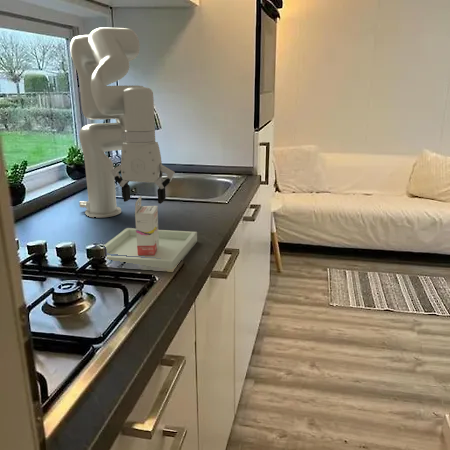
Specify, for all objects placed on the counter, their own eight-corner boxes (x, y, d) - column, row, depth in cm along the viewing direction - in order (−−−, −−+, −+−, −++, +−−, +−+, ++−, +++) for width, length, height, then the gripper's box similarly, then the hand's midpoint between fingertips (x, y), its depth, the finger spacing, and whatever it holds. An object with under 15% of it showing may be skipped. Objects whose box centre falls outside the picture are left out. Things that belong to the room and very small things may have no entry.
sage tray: (91, 266, 123) (89, 255, 123) (127, 237, 146) (126, 228, 145) (172, 272, 119) (172, 261, 118) (197, 241, 142) (196, 231, 141)
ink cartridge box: (155, 255, 128) (152, 202, 124) (137, 255, 128) (133, 202, 124) (160, 245, 137) (157, 194, 132) (142, 245, 137) (139, 194, 132)
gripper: (102, 138, 121) (108, 203, 127) (168, 140, 118) (170, 206, 123) (115, 134, 128) (119, 196, 134) (177, 136, 125) (179, 199, 130)
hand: (144, 201), depth 129 cm, fingers open, 9 cm apart
